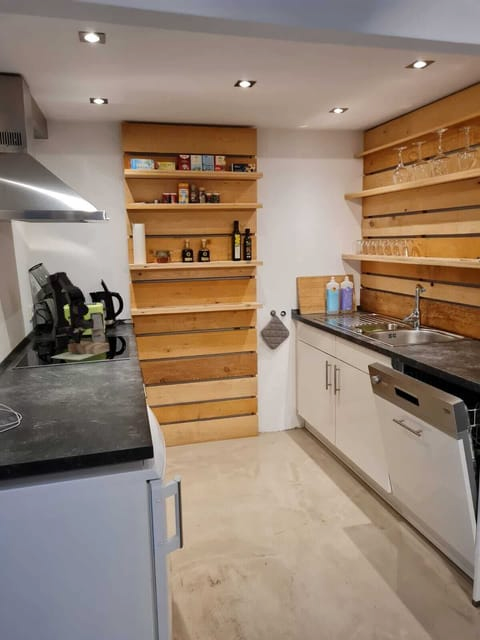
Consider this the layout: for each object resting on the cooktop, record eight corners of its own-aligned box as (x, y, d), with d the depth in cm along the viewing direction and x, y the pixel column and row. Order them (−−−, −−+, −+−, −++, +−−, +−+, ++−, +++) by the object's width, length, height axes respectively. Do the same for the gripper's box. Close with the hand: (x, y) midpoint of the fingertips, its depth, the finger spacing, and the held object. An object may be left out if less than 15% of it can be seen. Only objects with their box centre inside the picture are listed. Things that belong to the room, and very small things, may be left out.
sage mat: (51, 357, 238) (51, 357, 238) (67, 353, 248) (67, 352, 248) (79, 360, 231) (79, 359, 231) (95, 355, 241) (94, 354, 241)
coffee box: (105, 341, 275) (103, 313, 273) (94, 342, 273) (91, 314, 270) (102, 338, 284) (100, 311, 281) (91, 340, 281) (89, 312, 279)
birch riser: (68, 352, 249) (68, 345, 248) (82, 348, 258) (81, 341, 257) (96, 354, 242) (95, 347, 241) (109, 350, 251) (108, 343, 250)
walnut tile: (74, 350, 246) (71, 353, 244) (70, 343, 243) (67, 346, 241) (85, 351, 243) (82, 354, 241) (81, 343, 240) (78, 347, 238)
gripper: (74, 317, 228) (77, 349, 231) (101, 311, 245) (103, 342, 247) (57, 316, 233) (59, 348, 235) (83, 311, 249) (86, 341, 252)
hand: (78, 344), depth 242 cm, fingers closed
